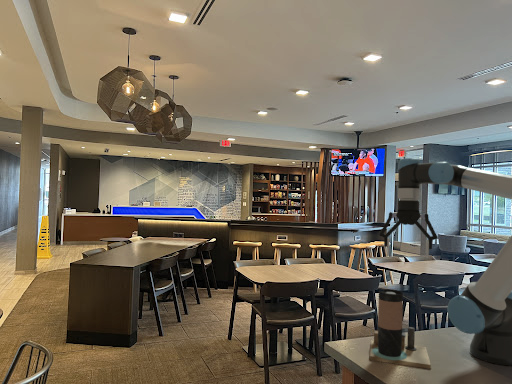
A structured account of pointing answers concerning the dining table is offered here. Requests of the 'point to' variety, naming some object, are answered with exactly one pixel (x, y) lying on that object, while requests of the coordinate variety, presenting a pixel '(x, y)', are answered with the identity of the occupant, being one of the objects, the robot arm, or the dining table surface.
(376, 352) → the felt pad
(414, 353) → the oak board
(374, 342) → the leg bar
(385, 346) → the travel mug
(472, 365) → the dining table surface
